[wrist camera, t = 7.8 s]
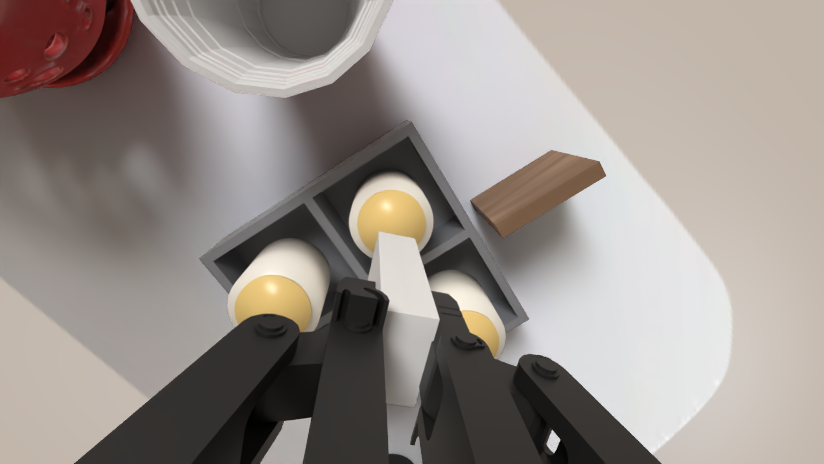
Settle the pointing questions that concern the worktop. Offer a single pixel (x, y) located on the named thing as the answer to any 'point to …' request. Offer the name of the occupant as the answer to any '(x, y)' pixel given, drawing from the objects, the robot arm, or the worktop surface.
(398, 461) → the drinking cup
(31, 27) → the plant pot
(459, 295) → the button
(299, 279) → the button
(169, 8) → the plastic cup
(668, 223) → the worktop surface
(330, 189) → the button board
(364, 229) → the button
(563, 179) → the placard
